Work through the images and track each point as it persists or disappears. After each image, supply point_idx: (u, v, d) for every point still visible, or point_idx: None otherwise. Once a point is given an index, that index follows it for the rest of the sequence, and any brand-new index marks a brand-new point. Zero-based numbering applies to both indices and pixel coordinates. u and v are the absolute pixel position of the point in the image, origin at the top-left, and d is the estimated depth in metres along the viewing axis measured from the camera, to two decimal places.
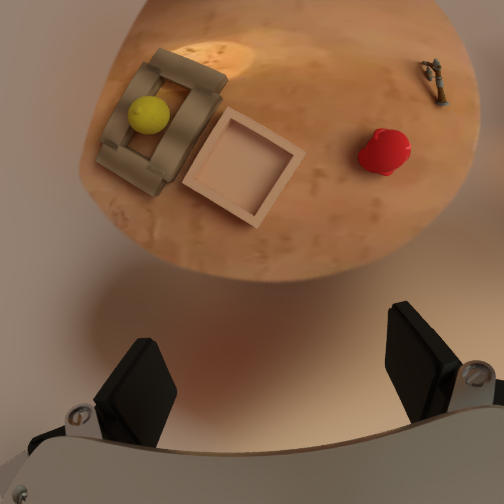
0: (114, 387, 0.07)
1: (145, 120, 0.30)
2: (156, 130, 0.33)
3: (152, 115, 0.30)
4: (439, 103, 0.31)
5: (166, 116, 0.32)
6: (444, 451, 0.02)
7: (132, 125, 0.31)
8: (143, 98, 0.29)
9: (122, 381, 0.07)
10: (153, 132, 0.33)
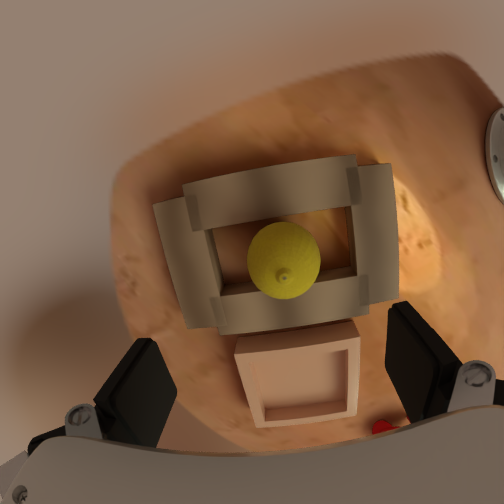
0: (114, 386, 0.07)
1: (277, 294, 0.19)
2: None
3: (292, 296, 0.19)
4: None
5: None
6: (444, 451, 0.02)
7: (253, 271, 0.19)
8: (308, 258, 0.18)
9: (122, 381, 0.07)
10: None
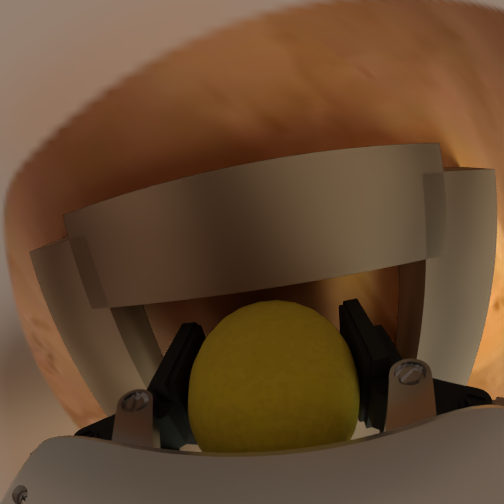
0: (171, 369, 0.08)
1: None
2: None
3: None
4: None
5: None
6: (444, 451, 0.02)
7: (197, 441, 0.06)
8: (339, 432, 0.05)
9: (177, 363, 0.08)
10: None
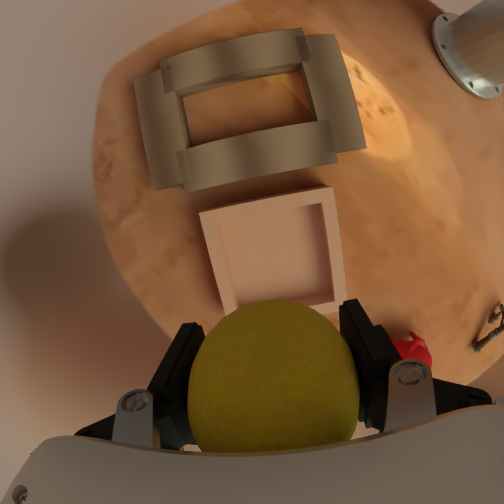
0: (171, 369, 0.08)
1: None
2: None
3: None
4: (474, 346, 0.29)
5: None
6: (444, 451, 0.02)
7: (196, 441, 0.06)
8: (339, 431, 0.05)
9: (177, 363, 0.08)
10: None
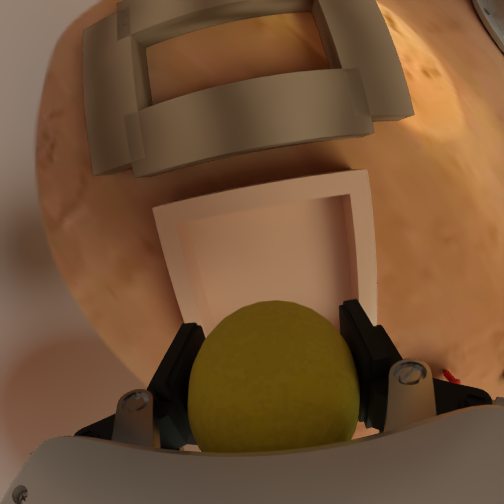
0: (171, 369, 0.08)
1: None
2: None
3: None
4: None
5: None
6: (444, 451, 0.02)
7: (197, 442, 0.06)
8: (339, 432, 0.05)
9: (177, 363, 0.08)
10: None
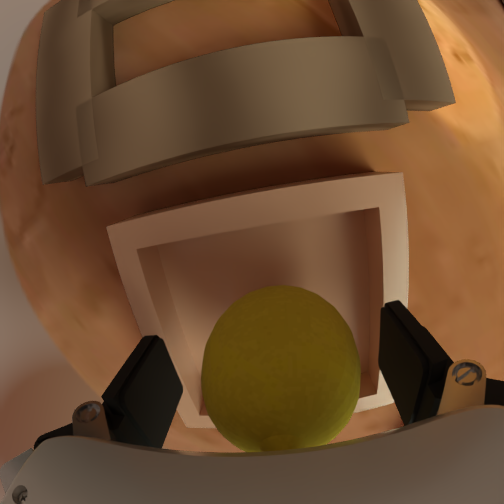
0: (122, 383, 0.07)
1: None
2: None
3: None
4: None
5: None
6: (444, 451, 0.02)
7: (210, 415, 0.07)
8: (343, 401, 0.06)
9: (130, 378, 0.08)
10: None
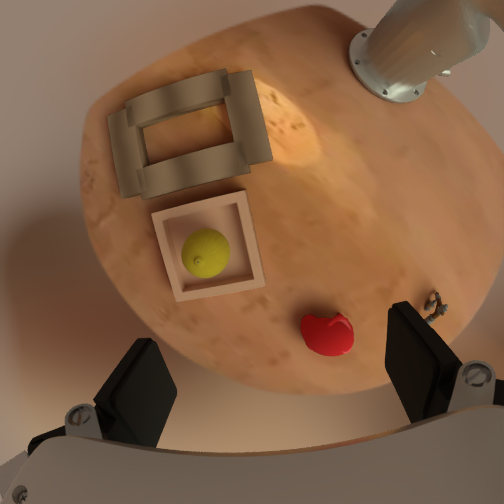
0: (114, 387, 0.07)
1: (197, 274, 0.29)
2: None
3: (207, 275, 0.29)
4: None
5: None
6: (444, 451, 0.02)
7: (182, 259, 0.29)
8: (214, 250, 0.29)
9: (122, 381, 0.07)
10: None
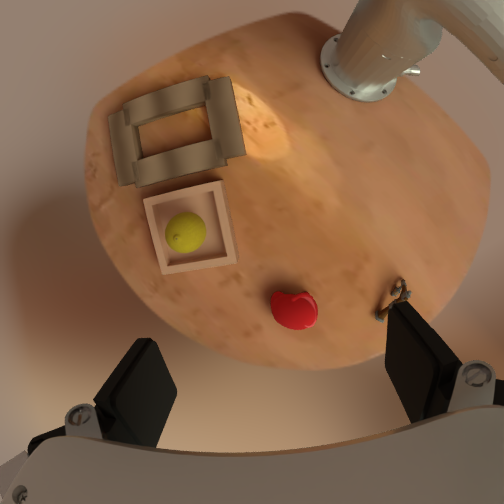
0: (114, 386, 0.07)
1: (176, 249, 0.35)
2: None
3: (185, 250, 0.35)
4: (376, 315, 0.43)
5: (195, 249, 0.38)
6: (444, 451, 0.02)
7: (165, 237, 0.35)
8: (190, 229, 0.34)
9: (122, 381, 0.07)
10: None
